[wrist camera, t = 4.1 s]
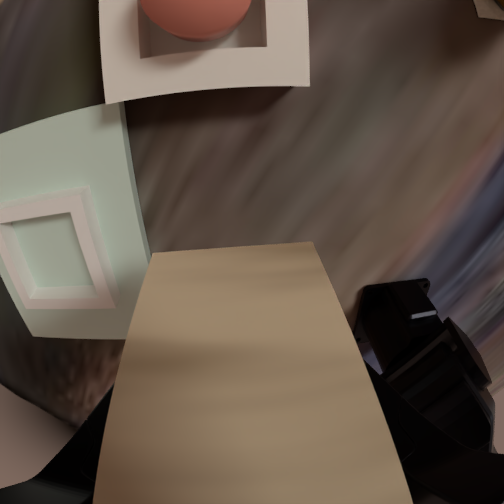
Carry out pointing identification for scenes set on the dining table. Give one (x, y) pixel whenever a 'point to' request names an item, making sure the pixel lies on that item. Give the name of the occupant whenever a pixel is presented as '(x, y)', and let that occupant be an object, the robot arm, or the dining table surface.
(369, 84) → the dining table surface
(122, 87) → the button housing
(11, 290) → the tray
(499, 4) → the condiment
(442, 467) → the robot arm
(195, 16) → the button
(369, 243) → the dining table surface
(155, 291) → the block
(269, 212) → the dining table surface
